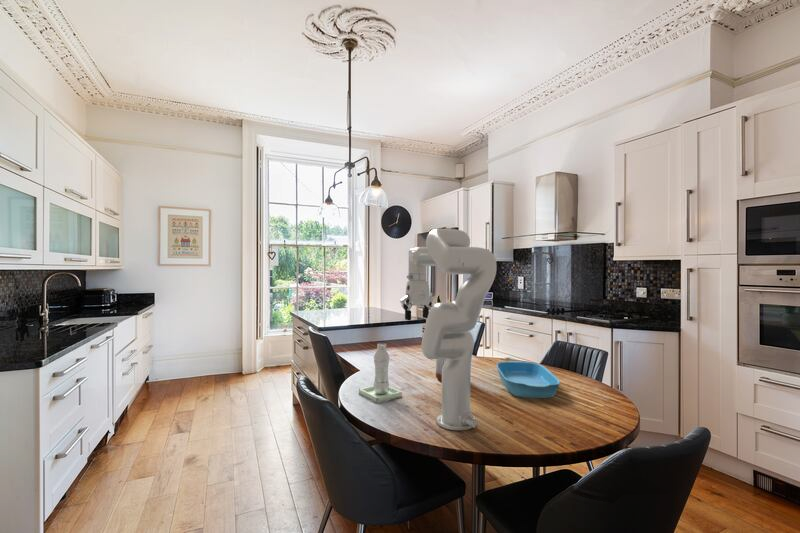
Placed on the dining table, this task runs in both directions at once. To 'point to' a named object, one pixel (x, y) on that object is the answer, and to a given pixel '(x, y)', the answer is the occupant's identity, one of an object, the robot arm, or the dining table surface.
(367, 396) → the tray
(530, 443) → the dining table surface
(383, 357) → the plastic bottle
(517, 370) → the casserole dish
